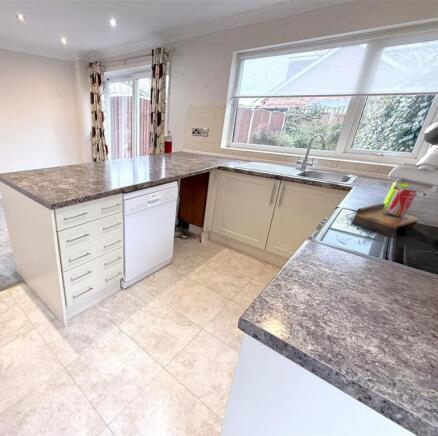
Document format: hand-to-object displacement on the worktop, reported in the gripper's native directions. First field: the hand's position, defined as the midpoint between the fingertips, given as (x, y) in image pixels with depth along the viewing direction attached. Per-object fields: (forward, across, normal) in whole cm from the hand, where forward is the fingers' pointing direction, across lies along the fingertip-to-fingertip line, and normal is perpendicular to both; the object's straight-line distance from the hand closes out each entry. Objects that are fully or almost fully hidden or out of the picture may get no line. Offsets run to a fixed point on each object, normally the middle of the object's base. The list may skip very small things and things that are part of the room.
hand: (409, 191), depth 105 cm
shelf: (+16, -1, +7) cm, 17 cm away
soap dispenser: (-10, -12, +33) cm, 37 cm away
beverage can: (+9, 0, +6) cm, 11 cm away
